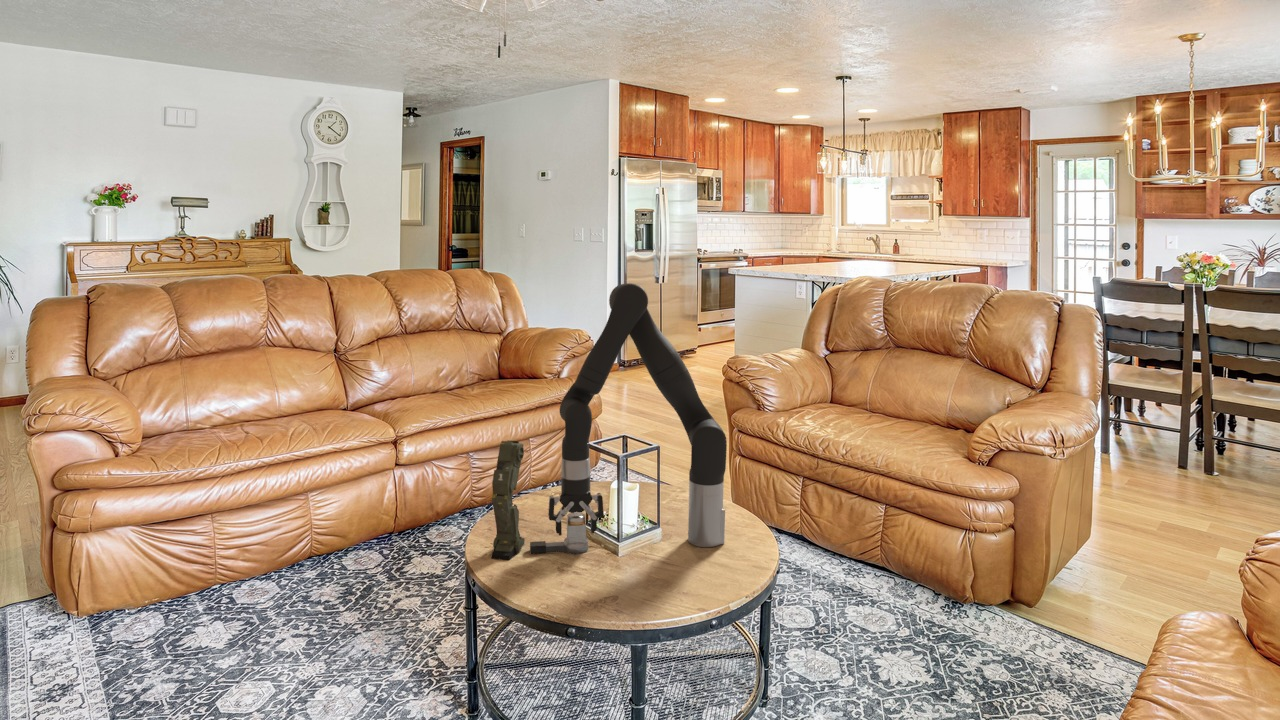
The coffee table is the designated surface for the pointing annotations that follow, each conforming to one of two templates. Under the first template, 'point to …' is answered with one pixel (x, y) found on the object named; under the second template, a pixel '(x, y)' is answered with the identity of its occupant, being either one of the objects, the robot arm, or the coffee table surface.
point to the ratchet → (558, 547)
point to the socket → (576, 528)
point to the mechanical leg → (506, 501)
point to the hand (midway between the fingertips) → (576, 533)
